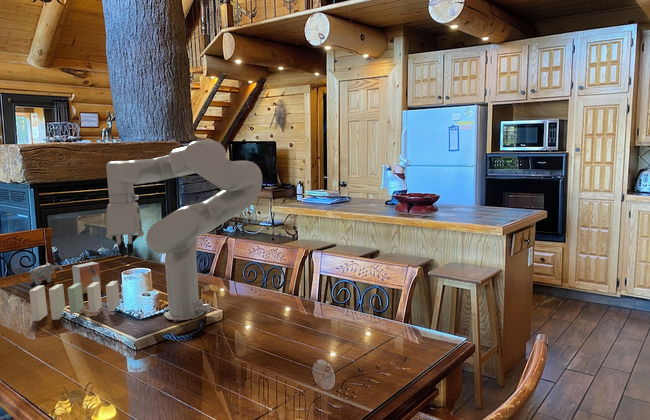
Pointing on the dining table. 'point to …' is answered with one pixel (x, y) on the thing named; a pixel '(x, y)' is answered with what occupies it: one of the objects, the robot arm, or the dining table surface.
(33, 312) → the domino
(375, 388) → the dining table surface
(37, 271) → the elephant statuette
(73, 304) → the domino
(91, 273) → the small box
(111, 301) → the domino
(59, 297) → the domino
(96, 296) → the domino
